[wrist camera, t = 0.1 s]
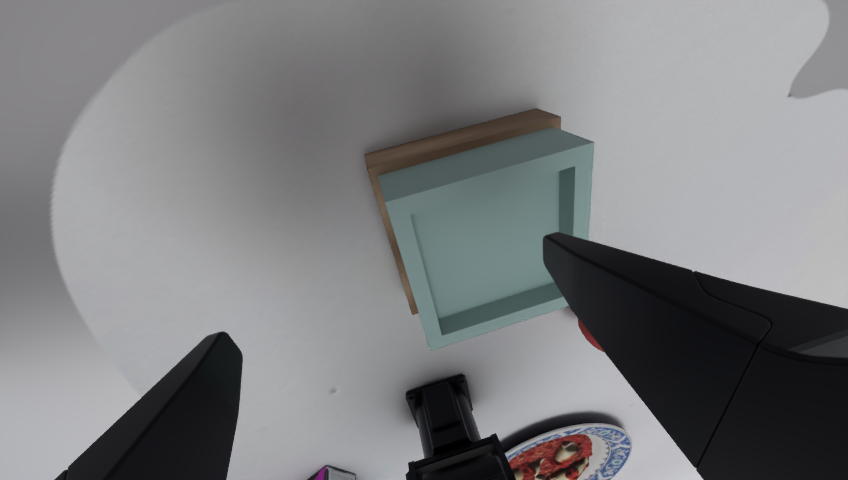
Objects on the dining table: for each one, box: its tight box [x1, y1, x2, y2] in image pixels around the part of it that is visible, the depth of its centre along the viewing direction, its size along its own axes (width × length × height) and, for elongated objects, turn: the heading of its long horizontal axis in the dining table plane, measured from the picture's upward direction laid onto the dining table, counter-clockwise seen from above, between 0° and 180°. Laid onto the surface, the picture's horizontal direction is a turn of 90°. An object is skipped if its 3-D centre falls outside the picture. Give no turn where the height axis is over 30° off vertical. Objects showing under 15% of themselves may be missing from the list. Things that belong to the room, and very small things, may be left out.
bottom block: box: [364, 108, 561, 315], centre depth 24 cm, size 12×12×4 cm
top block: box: [378, 127, 594, 351], centre depth 21 cm, size 11×11×4 cm
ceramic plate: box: [505, 423, 632, 480], centre depth 49 cm, size 26×26×3 cm
